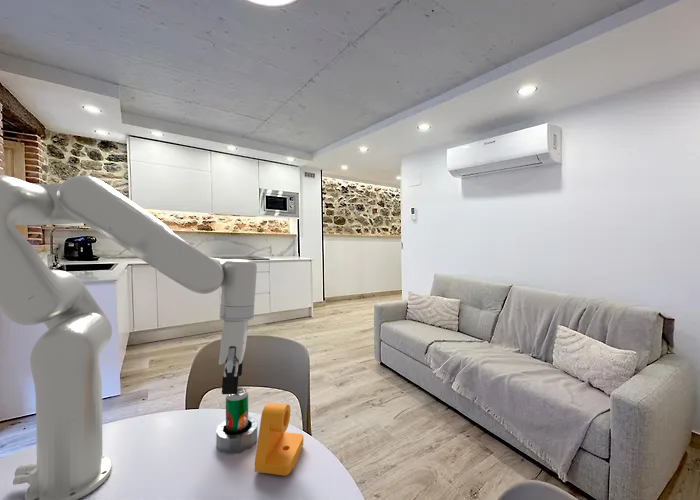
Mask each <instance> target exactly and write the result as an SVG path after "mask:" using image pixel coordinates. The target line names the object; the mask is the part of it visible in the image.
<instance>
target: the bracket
mask: <svg viewBox="0 0 700 500" xmlns="http://www.w3.org/2000/svg"><path fill="white" fill-rule="evenodd" d="M290 419H291V406H290V404H287V403H277V402H276V403H274V402H267V403H266V404H265V405H264V407H263V409H262V413H261V417H260V421H259V422H260V424H259V429H258V431H259V432H258V435H257V442H256V443H257V444H256V450H255V457H254V472H256V473H263V474H269V475H270V474H271V475H278V476H288V475H289V474H290V473H291V472H292V471H294V469H295V466H296V465H297V462H298V460H299V458H300V456H301V454H302V449H303V446H304V434H302V433H297V432H289V431H287V429H288V426H289V423H290ZM286 431H287V432H286Z"/></svg>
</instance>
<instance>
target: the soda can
mask: <svg viewBox="0 0 700 500" xmlns="http://www.w3.org/2000/svg"><path fill="white" fill-rule="evenodd" d="M248 417H249V393H248V390H247V389H246V388H245V387H242V386H240V387H239V386H238V391H237V393H236V394H226V396H225V420H226V434H228V435H239V434H242V433H245V432H247V431H248Z"/></svg>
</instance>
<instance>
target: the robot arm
mask: <svg viewBox="0 0 700 500" xmlns="http://www.w3.org/2000/svg"><path fill="white" fill-rule="evenodd" d="M70 224H71V225H73V224H85V225H86V226H88V227H90V228H91V229H93V230H95V231H96V232H98V233H99V234H101V235H103V236H104V237H107V238H108V240H111V241H113V242H114V243H115V244H117V245H119V246H120V247H122V248H123V249H125V250H127V251H128V252H130V253H131V254H132V255H134V257H137V258H138V259H140V260H142V261H143V262H145V263H146V264H147V265H149V266H150V267H152V268H154V269H155V270H156V271H158V272H160V273H161V274H162V275H164V276H166V277H167V278H168V279H170V280H172V281H173V282H176V283H177V284H179V285H180V286H182V287H183V288H185V289H187V290H189V291H191V292H192V293H195V294H199V295H206V294H212V293H214V292H215V291H218V289H220V288H221V294H220V295H221V296H220V307H219V308H220V309H219V319H220V320H222V321H223V323H222V329H221V330H222V331H221V340H220V346H219V347H220V350H219V358H218V359H219V360H218V364H219V365H220V366H222V365H224V370H223V375H222V384H221V394H222V395H227V394H236V393H237V391H238V387H239V377H240V376H242V374H243V362H244V360H243V359H244V356H245V352H246V347H247V339H248V327H249V326H248V325H249V321H250V320H253V319H254V316H255V315H254V314H255V300H256V288H257V284H256V283H257V272H258V271H257V270H258V268H257V267H258V266H257V263H256V262H255V261H254V260H252V259H244V258H241V259H240V258H230V259H224V258H223V259H222V258H217V257H213V256H212V257H211V256H208V255H206V254H205V253H203V252H202V251H201V250H199V249H198V248H196V247H195V246H193V245H192V244H190V243H189V242H187V241H186V240H184V239H183V238H181V237H180V236H179V235H178V234H176V233H174V232H173V230H171V229H170V228H169V227H168V226H167V225H166V224H165V222H163V221H162V220H160V219H159V218H157V217H156V216H155V215H153V214H152V213H150V212H149V211H147V210H146V209H144V208H143V207H141V206H139V204H137V203H135V202H133V201H132V200H131V199H129V198H128V197H127V196H125V195H123V194H122V193H120V192H119V191H117V190H116V189H114V187H112V186H110V185H109V184H107V183H105V182H104V181H103V180H101V179H98V178H97V177H94V176H89V175H75V176H72V177H69V178H67V179H65V180H64V181H63V182H62V183H60V184H58V183H57V184H56V183H55V184H54V183H53V184H52V183H50V184H49V183H48V184H47V183H43V184H42V183H37V184H36V183H30V182H28V181H25V180H22V179H20V178H16V177H13V176H9V175H5V174H0V311H1V312H2V313H3V314H4V315H5V316H6V318H7V319H9V320H10V321H11V322H13V323H16V324H18V325H22V326H35V325H40V324H44V325H45V327H46V328H47V329H48V330H46V331H45V332H44V333H43V334H42V335H41V336H40V337H39V338H38V339H37V340H36V342H35V344H34V345H33V347H32V349H31V352H30V356H29V357H30V358H29V365H30V371H31V376H32V379H33V384H34V392H35V393H34V394H35V415H36V416H35V417H36V418H35V420H36V421H35V423H36V463H33V464H32V463H31V464H24V465H23V464H22V465H19V466H18V467H17V468H16V469H15V472H14V478H13V480H12V485H13V486H14V485H16V486H17V485H21V484H25V483H27V484H28V485H29V486H28V488H26V491H25V494H24V500H79V499H82V498H83V497H85V496H86V495H89V494H90V493H92V492H93V491H95V490H96V489H97V488H98V487H100V486H101V485H102V484H103V483H105V481H107V479H108V478H109V477H110V474H111V473H112V469H113V461H112V459H110V457H107V456H105V455H103V382H102V373H101V367H100V366H101V365H100V355H101V353H102V351H103V350H104V349H105V348H106V346H107V345H108V344H109V342H110V341H111V338H112V335H113V328H112V324H111V321H110V320H109V318H108V316H107V315H106V314H105V313H104V311H103V309H102V308H101V307H100V305H99V303H98V302H97V301H96V299H94V297H93V295H92V294H91V292H90V291H89V289H88V288H87V286H86V285H85V284H84V283H83V282H82V280H80V279H79V278H78V277H77V276H75V275H74V274H72V273H70V272H68V271H65V270H60V269H50V268H49V266H47V265H48V264H46V263H45V262H44V261H43V259H42V258H41V256H40V255H39V253H38V252H37V249H35V247H34V246H33V245H32V243H30V242H29V240H27V239H26V238H25V236H23V235H22V234H21V233H20V232H19V230H18V229H17V225H18V226H49V225H51V226H52V225H70Z"/></svg>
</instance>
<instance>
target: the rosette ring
mask: <svg viewBox="0 0 700 500" xmlns="http://www.w3.org/2000/svg"><path fill="white" fill-rule="evenodd" d="M215 434H216V435H215V439H216V445H215V446H216V449H217V450H218V451H219V452H220V453H223V454H227V455H235V454H242V453H244V452H245V451H248V450H250V449H252V448H253V446H255V445H256V443H258V420H257V419H256V418H254V417H252V416H248V431H247V432H245V433H242V434H239V435H228V434H226V419H225V420H224V421H223V422H222V423H221V424H219V425H218V426H217V429H216V433H215Z"/></svg>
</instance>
